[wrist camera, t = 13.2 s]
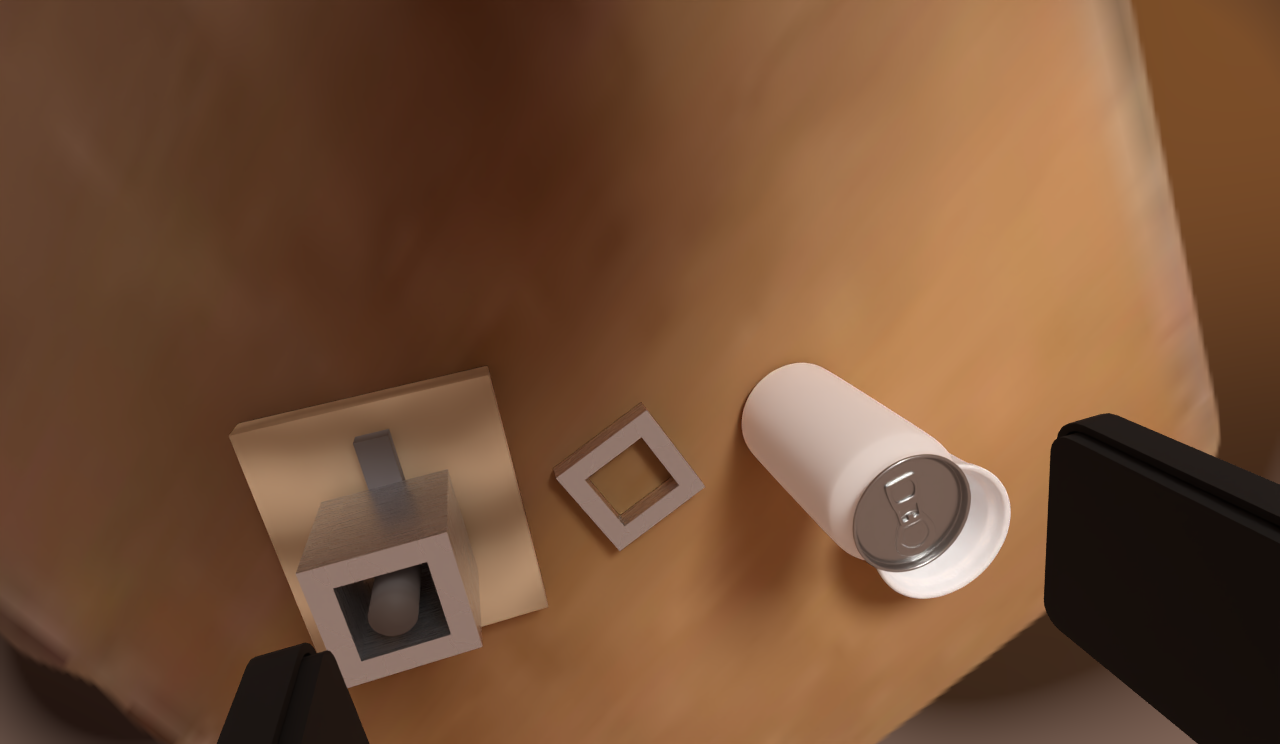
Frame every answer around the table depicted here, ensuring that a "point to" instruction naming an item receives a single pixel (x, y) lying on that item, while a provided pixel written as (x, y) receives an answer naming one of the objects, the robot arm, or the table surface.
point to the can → (857, 467)
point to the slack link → (608, 447)
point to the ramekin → (962, 541)
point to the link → (382, 543)
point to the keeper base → (388, 453)
